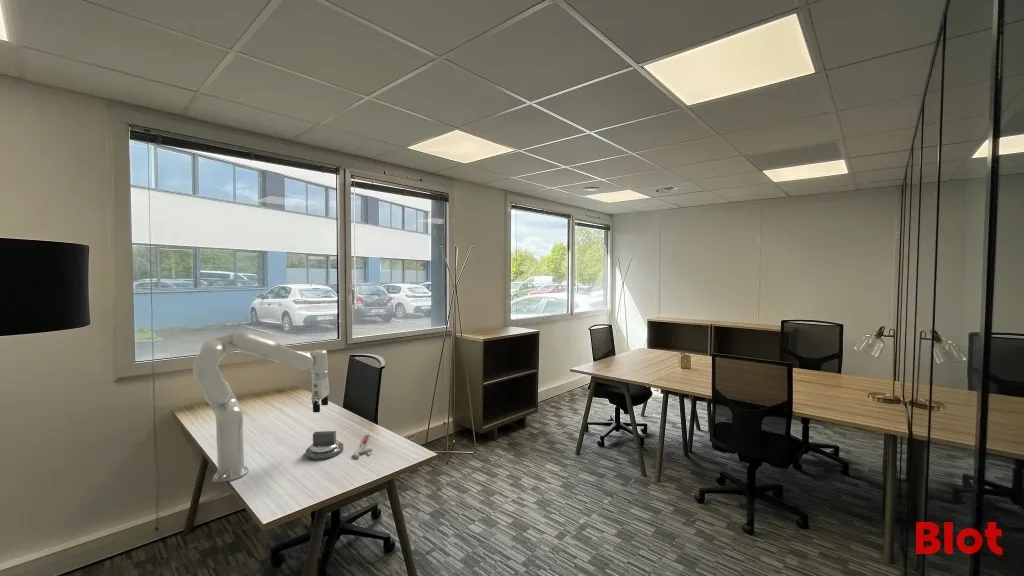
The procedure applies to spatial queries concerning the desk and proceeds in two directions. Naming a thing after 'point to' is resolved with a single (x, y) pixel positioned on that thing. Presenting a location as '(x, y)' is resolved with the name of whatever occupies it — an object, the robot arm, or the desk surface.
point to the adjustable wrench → (363, 447)
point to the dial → (324, 442)
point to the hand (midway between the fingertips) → (320, 408)
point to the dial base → (324, 455)
